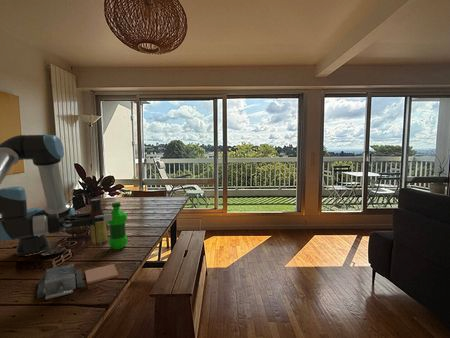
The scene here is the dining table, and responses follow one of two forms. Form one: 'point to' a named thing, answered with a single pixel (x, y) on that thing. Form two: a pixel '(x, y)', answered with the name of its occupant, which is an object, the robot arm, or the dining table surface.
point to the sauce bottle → (97, 225)
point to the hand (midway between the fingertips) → (110, 215)
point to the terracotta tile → (101, 273)
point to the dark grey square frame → (59, 281)
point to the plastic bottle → (117, 227)
